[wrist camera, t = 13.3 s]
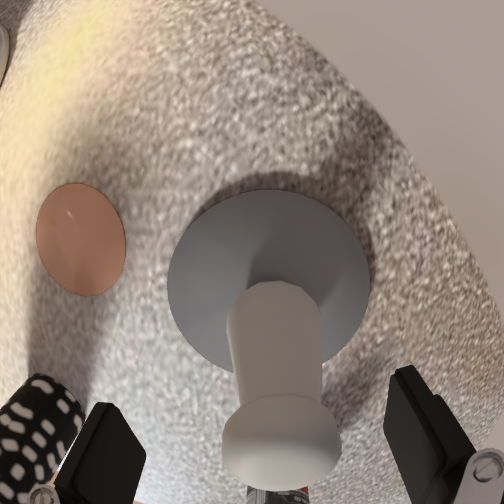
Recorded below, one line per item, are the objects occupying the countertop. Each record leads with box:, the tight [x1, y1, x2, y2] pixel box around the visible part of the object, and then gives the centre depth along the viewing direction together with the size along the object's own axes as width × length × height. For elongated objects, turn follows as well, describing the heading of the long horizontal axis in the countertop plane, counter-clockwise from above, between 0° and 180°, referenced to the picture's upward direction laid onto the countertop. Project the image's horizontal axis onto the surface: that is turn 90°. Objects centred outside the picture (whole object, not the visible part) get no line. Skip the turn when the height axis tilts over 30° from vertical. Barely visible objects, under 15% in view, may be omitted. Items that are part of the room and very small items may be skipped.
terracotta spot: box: [36, 183, 126, 296], centre depth 21 cm, size 9×9×1 cm
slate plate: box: [167, 189, 370, 373], centre depth 21 cm, size 14×14×1 cm
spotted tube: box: [0, 374, 85, 504], centre depth 17 cm, size 8×8×20 cm
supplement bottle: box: [246, 486, 309, 504], centre depth 21 cm, size 6×6×11 cm
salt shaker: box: [222, 280, 342, 492], centre depth 14 cm, size 6×6×13 cm
